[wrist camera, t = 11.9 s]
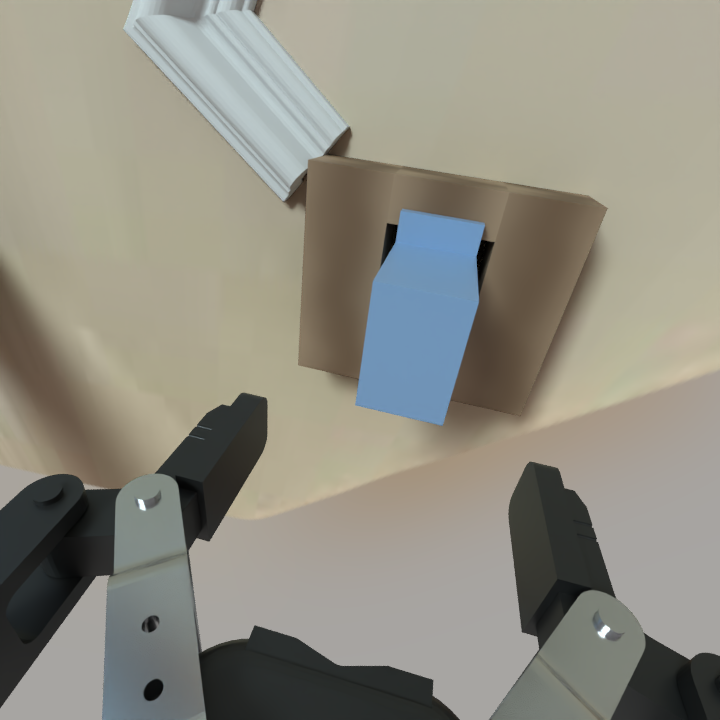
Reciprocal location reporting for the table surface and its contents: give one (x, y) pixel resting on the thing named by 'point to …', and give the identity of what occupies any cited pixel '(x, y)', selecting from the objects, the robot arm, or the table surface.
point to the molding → (240, 83)
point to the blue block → (420, 317)
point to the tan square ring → (495, 277)
